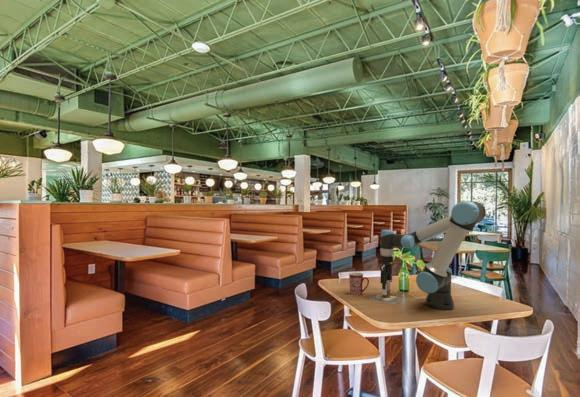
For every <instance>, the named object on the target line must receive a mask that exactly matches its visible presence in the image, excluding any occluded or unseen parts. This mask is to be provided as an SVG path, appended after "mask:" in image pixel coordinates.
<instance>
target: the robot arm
mask: <svg viewBox="0 0 580 397" xmlns="http://www.w3.org/2000/svg"><path fill="white" fill-rule="evenodd" d="M450 212H451V214H450V215H449V216H446V217H445V218H442V219H439V220H438V221H434V222H433V223H431V224H428V225H426V226H423V227H422V228H420V229H417V230H415V231H412V232H410V233H404V234H399V233H398V234H397V233H394V232H395V231H394V230H392V229H381V231H380V248H379V251H380V257H379V258H380V259H379V260H380V262H381V263H382V265H381V266H380V280H379V281H380V284H381V294H383V295H387V284H386V281H387V280H390V283H392V282H393V264H392V263H393V262H394V247H396V248H404V249H411V248H412V249H413V247H414V246H418V245H420V244H421V243H423V242H426V241H428V240H431V239H433V238H436V237H438V236H440V235H442V234H444V237H443V238H442V240H441V242H440V244H439V245H438V248H437V249H436V252H434V255H433V257H432V259H431V261H430V262H428V263H426V264H425V265H424V267H423V269H422V271H420V272H419V273H418V274H417V275H416V278H415V283H416V286H417V288H418V289H419V290H421V291H422V292H423V293H426V294H427V295H426V298H425V301H424V303H425V305H426V306H427V307H430V308H432V309H436V310H442V311H443V310H444V311H450V310H453V309H455V303H454V299H453V296H452V269H451V267H449V266H450V265H451V263H452V261H453V260H454V258H455V256H456V254H457V252H458V250H459V248H460V247H461V245H462V243H463V241H464V239H465V237H466V236H467V234H468V233H471V232H473V230H474V229H475V226H476V225H477V224H478V223H481V222H482V221H483V220H484V219H485V218H486V214H487V213H486V212H487V210H486V207H485V206H484V205H483V204H482V203H480V202H478V201H476V200H472V201H470V200H463V201H460V202H459V201H458V202H457V203H455V204H454V206H453V207H452V209H451V211H450Z"/></svg>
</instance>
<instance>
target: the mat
mask: <svg viewBox="0 0 580 397" xmlns="http://www.w3.org/2000/svg"><path fill="white" fill-rule="evenodd" d="M378 294H381V293H379V292H378V293H376V294H375V295H372V296H371V297H369V298H368V300H372V301H375V302H381V303H385V304H389V305H396V304H397V303H399V302H400V301H402V300H403V299H404V298H403V297H400V296H395V297H396V301H393V302H386V301H381V300H378V299H376V295H378Z"/></svg>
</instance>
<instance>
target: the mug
mask: <svg viewBox="0 0 580 397" xmlns="http://www.w3.org/2000/svg"><path fill="white" fill-rule="evenodd" d="M348 276H349V277H348V278H349V295H352V296H356V297H357V296H358V297H360V296H362V295H363V292H364V291H365V290H366V289H367V288H368V286H369V284H370V280H369V278H368V277H366V276H364V273H362V272H355V271H353V272H349V273H348ZM363 276H364V277H363ZM365 279H366V281H367V284H366V286H365V287H364V288H363V282H364V281H365Z"/></svg>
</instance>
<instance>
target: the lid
mask: <svg viewBox="0 0 580 397" xmlns="http://www.w3.org/2000/svg"><path fill="white" fill-rule="evenodd" d="M386 284H387V295H383V294H382V293H380V294H378V293H377V294H378V295H376V294H375V295H376V299H378V300H381V301H386V302H393V301H396V297H397V296H394V295H391V282H390V280H387V281H386Z"/></svg>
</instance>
